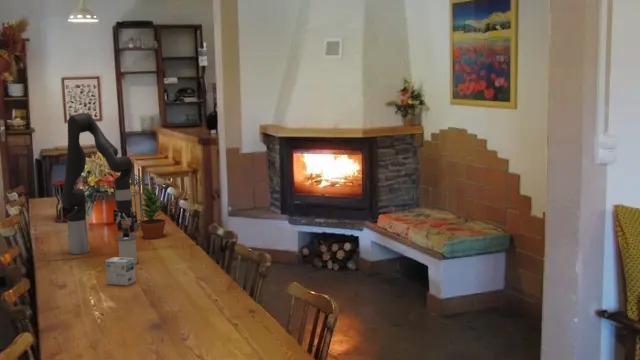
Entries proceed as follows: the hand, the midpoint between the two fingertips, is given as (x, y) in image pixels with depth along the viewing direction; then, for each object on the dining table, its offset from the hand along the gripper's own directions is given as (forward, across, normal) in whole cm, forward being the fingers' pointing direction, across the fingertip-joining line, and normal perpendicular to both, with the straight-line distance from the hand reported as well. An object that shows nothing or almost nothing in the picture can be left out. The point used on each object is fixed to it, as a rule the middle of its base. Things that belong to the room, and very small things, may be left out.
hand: (126, 231), depth 344 cm
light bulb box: (+16, +24, -24) cm, 38 cm away
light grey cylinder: (+16, 0, 0) cm, 16 cm away
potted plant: (+16, -31, +45) cm, 57 cm away
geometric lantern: (+16, -57, +52) cm, 79 cm away
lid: (+4, 0, 0) cm, 4 cm away
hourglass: (+16, -118, +53) cm, 130 cm away
